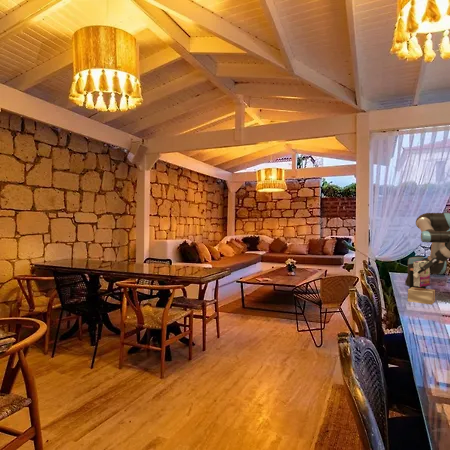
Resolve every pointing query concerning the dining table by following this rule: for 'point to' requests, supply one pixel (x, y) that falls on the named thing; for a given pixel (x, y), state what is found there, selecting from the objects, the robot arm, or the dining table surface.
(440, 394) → the dining table surface
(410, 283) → the coffee jar
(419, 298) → the ash block
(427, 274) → the candy bar box
